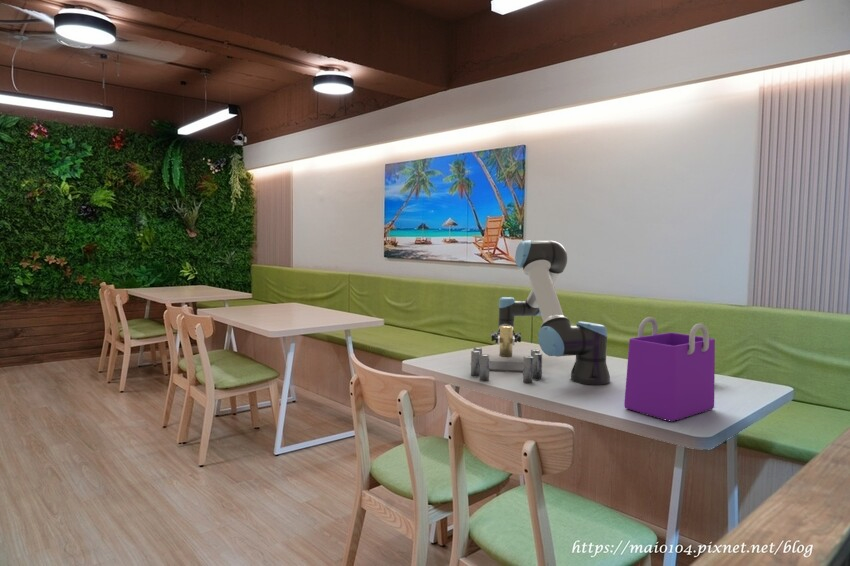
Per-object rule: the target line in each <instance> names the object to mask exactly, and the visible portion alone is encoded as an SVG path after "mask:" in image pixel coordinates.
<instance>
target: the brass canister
mask: <svg viewBox="0 0 850 566" xmlns="http://www.w3.org/2000/svg"><path fill="white" fill-rule="evenodd" d="M513 346H514V345H513V327H512V326H500V345H499V353H498V355H499V357H501V358H512V357H513Z"/></svg>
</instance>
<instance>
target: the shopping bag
mask: <svg viewBox="0 0 850 566" xmlns="http://www.w3.org/2000/svg"><path fill="white" fill-rule="evenodd" d="M648 323H651V327H652V329H651V331H652V332H651V335H650V334H649V335H645V336H644V330H645V327H646V325H647V324H648ZM658 328H659V327H658V321H657V320H656V319H655V317H652V316H648V317H645V318H644V319H642V321H641V322H640V324H639V326H638V330H637V337H631V338H629V342H628V354H627V366H626V379H625V391H624V392H625V393H624V403H623V405H624V408H625V409H626V408H627V409H626V410H628V409H630V410H629V411H631V410H633V411H632V412H635V411H637V412H636V413H638V412H641V413H640V414H642V413H644V414H643V415H645V414H648V415H651V416H650V417H652V416H655V417H658V418H657V419H659V418H662V419H666V420H670V421H674V422H676V421H675V420H677V421H679V420H678V419H680V420H683V419H686V418H685V417H687V418H689V417H688V416H690V417H692V416H691V415H693V416H695V415H694V414H696V415H698V414H697V413H699V414H701V412H702V413H705V412H708V411H711V410H713V409H714V408H715V375H716V374H715V371H716V370H715V369H716V366H715V364H716V363H715V362H716V361H715V359H716V358H715V357H716V354H715V353H716V352H715V350H716V346H715V345H716V340H715V338H710V335H709V330H708V328H707V326H706V325H705V324H704V323H696V324H694V325H693V326H692V328H691V329H690V332H689V334H684V333H679V332H664V333H658V331H659V330H658ZM699 329H700V330H701V333H702V336H698V335H697V333H698V330H699ZM710 409H711V410H710ZM707 410H708V411H707ZM704 411H705V412H704ZM648 415H647V416H648ZM655 417H654V418H655ZM682 418H683V419H682ZM662 419H661V420H662ZM666 420H665V421H666Z"/></svg>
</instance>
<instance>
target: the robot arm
mask: <svg viewBox="0 0 850 566" xmlns="http://www.w3.org/2000/svg"><path fill="white" fill-rule="evenodd" d="M514 261H515V262H514V263H515V265H516V267H518V268H521V269H523V272H524V274H525V275H526V276H528V277H529V280H530V283H531V286H532V288H531V290H530V292H529V294H528V296H527V298H526V299H525V300H516V299H515V298H514V297H513V296H509V297H508V296H502V297H500V298H499V301H498V324H497V325H498V328H497V332H496V331H491V335H490V336H491V341H492V342H494V341H495V344H497V345H499V346H500V326H512V327H513V346H515V343H517V342H518V343H522V332H517V333H516V332H515V317H516V318H517V317H538V316H539V317H541V320H542V323H541V325H540V329H539V330H538V334H537V336H538V339H537V341H538V344H539V347H540V349H541V350H542V352H543V353H544V354H545V355H546V356H549V357H569V356H575V361H574V363H573V365H572V366H573V367H572V369H571V371H570V380H571V381H573V382H576V383H579V384H583V385H593V386H598V385H599V386H600V385H607V384H610V382H611V376H610V371H609V367H608V364H607V345H608V328H607V327H606V325H604V324H599V323H594V322H587V321H577V322H576V325H572V324H571V321H570V319H569V318H568V317H566V316H565V315H564V312H563V310H562V306H561V303H560V301H559V297H558V294H557V292H556V288H555V286H554V283H555V282H556V281H557V278H558V276H559V275H560V274H562V273H563V272H564V270H565V268H566V267H567V264H568V253H567V251H566V248H565V247H564V246H563V244H561V243H560V242H557V241H555V240H531V239H528V240H521V241H520V242H519V243H518V244H517V247H516V250H515V255H514Z"/></svg>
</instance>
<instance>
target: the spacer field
mask: <svg viewBox="0 0 850 566" xmlns="http://www.w3.org/2000/svg"><path fill="white" fill-rule="evenodd" d="M470 354H471V357H470V376H471V377H474V376H477V377H479V381H481V380H482V382H488V380H490V371H489V361H490V354H486V353H483V348H482V347H480V346H478V347H477V346H475V347H473V350H471V351H470ZM523 362H524V366H523V372H522V375H523V377H522V381H523V383H525V384H532V383H533V380H542V377H543V375H542V374H543V373H542V372H543V354H542V353H541V350H540V349H530V355H524V356H523Z"/></svg>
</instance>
